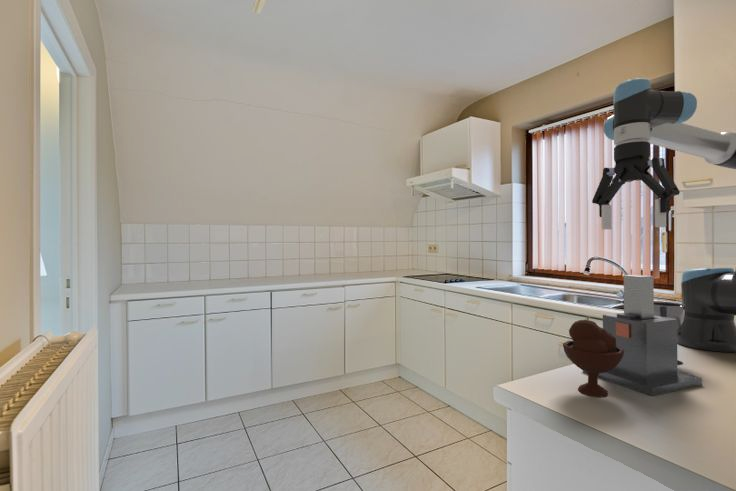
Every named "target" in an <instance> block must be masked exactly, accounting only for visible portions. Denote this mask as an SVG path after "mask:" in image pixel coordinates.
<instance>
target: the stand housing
mask: <svg viewBox="0 0 736 491" xmlns="http://www.w3.org/2000/svg"><path fill="white" fill-rule="evenodd" d="M602 328H603V329H605V330H607V331H608V332H609V333H611V334H612V335H613V336H614V337H615V338H616V346H618V347H620V348H622V349H624V354H623V358H622V359H621V361H620V363H619V364H618V365H617V366H616V367H614V368H613V369H612V370H610V371H608V372H605V373H599V375H598V378H600V379H604V380H606V381H609V382H611V381H612V383H614V382H615V383H614V384H617V383H618V384H617V385H621V386H623V387H626V388H629V389H630V390H631V389H632V390H634V391H637V392H639V393H642V394H645V395H648V396H651V397H654V396H658V395H663V394H667V393H672V392H676V391H682V390H686V389H689V388H690V389H691V388H695V387H700V386H702V385H703V378H702V377H701V376H697V375H693V374H690V373H686V372H683V371H679V370H678V365H677V360H678V343H677V319H672V318H666V317H660V316H654V319H648V320H639V319H637V315H631V314H625V313H624V312H619V313H618V312H617V313H616V312H615V313H608V314H602ZM582 372H584V373H586V374H587V372H586V371H584V370H582Z"/></svg>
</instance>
